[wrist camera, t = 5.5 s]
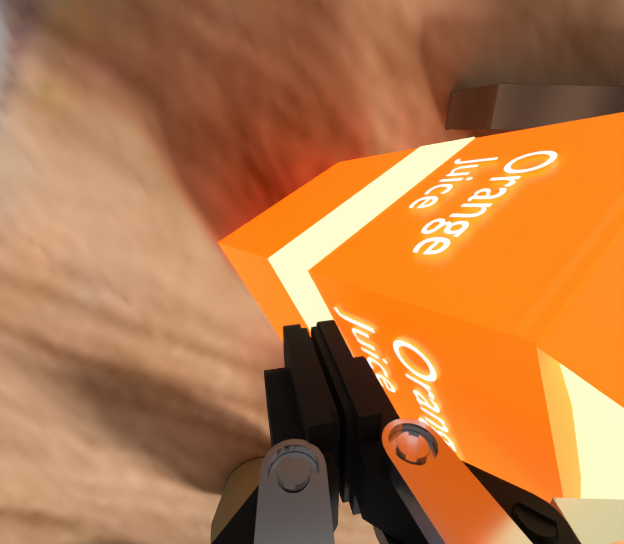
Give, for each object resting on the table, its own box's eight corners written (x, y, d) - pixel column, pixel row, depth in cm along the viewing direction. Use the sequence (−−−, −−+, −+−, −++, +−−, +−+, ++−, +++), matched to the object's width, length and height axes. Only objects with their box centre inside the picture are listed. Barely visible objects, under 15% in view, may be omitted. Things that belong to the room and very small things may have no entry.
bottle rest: (698, 96, 23) (784, 89, 19) (607, 319, 30) (657, 345, 26) (450, 92, 19) (499, 83, 16) (414, 346, 26) (442, 380, 23)
